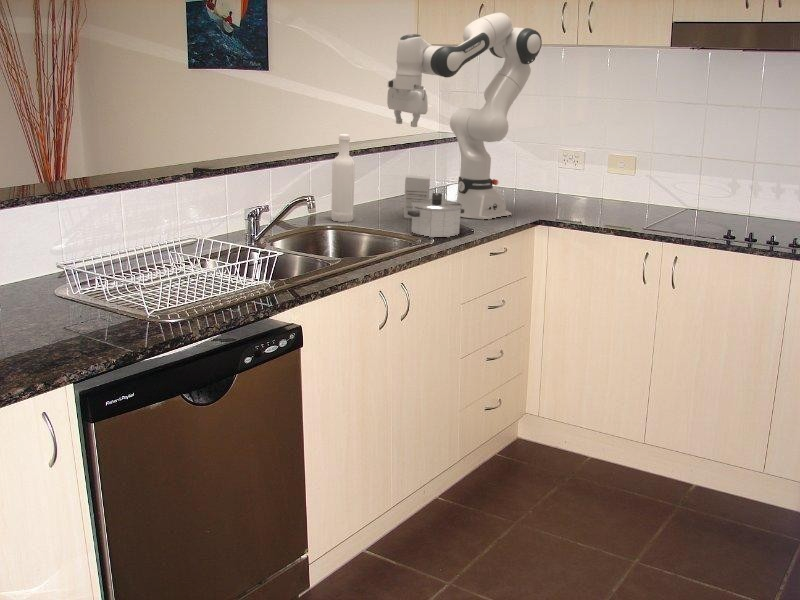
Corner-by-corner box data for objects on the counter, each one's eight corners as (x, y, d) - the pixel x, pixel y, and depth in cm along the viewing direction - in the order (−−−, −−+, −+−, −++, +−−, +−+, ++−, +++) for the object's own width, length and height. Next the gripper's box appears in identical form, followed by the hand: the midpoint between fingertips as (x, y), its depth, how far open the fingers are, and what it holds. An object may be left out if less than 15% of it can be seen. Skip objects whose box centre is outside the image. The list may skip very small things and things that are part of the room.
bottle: (351, 217, 317) (353, 133, 308) (355, 222, 309) (358, 136, 300) (329, 217, 315) (331, 132, 306) (332, 222, 307) (334, 135, 299)
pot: (446, 225, 312) (448, 200, 309) (473, 235, 299) (475, 208, 296) (397, 229, 301) (398, 203, 299) (422, 239, 288) (424, 212, 286)
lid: (443, 203, 309) (444, 188, 307) (471, 213, 295) (472, 196, 294) (401, 206, 300) (402, 190, 299) (428, 216, 287) (429, 199, 285)
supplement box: (403, 213, 329) (405, 173, 324) (427, 214, 329) (430, 174, 324) (403, 218, 320) (405, 177, 316) (427, 219, 320) (430, 178, 316)
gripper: (433, 86, 292) (430, 128, 296) (400, 81, 309) (398, 121, 313) (417, 86, 289) (415, 129, 293) (384, 81, 305) (383, 122, 309)
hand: (406, 125), depth 303 cm, fingers open, 8 cm apart
